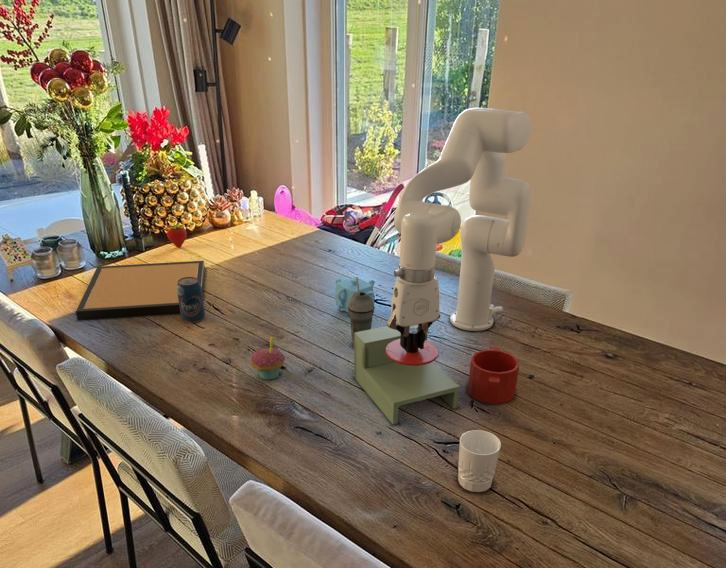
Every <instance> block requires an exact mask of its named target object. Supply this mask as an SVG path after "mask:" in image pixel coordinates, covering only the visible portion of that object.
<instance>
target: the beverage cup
mask: <svg viewBox="0 0 726 568" xmlns="http://www.w3.org/2000/svg"><path fill="white" fill-rule="evenodd" d="M355 277H356V282H357V290H358V293H356V294H354V295H353V296H352V297H351V298H350V300H349V304H348V312H349V313H348V312H347V313H348V315H349V322H350V324H349V325H350V333H351V342H352V347H353V348H354V333H355V332H360V331H365V330H370V329H372V323H373V316H374V312H375V301H374V302H373V299H372V298H371V297H370V295H368V294H367V293H364V292H360V291H359V283H358V278H359V277H358V276H355Z"/></svg>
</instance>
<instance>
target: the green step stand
mask: <svg viewBox="0 0 726 568" xmlns="http://www.w3.org/2000/svg"><path fill="white" fill-rule="evenodd" d="M410 328H418V324H417V325H412V326H410ZM400 336H401V333H400V332H399V331H398V330H395V329H392V328H389V327H388V326H387V325H386V326H380V327H375V328H371V329H370V330H365V331H360V332H355V333H354V347H353V348H354V349H353V350H354V358H353V359H354V364H353V365H354V373H353V374H354V375H353V376H354V377H353V378H354V379H355V380H356V382H357V383H358V384H359V386H360V387H362V389H363V390H364V392H365V393H366V394H367V395H368V396H369V398H371V400H372V401H373V402H374V404H376V406H377V408H378V409H380V411H381V413H383V414H384V416H385V417H386V418H387V420H388V421H389V422H390V423H391V424H392V425H396V424H398V423H399V422H398V419H399V407H400V406H405V405H408V404H412V403H417V402H420V401H423V400H428V399H431V398H435V397H440V398H441V399H442V400H443V401H444V402H446V403H447V405H449V407H451V409H453V410H455V409H457V408H458V405H459V393H460V385H459V384H457V383H456V382H455V380H454V379H452V378H451V377H450V376H449V375H448V374H447V373H446V372H445V371H444V370H443V369H441V367H439V366H438V365H437V364H436V363H435V361H433V362H431V363H429V364H425V365H420V366H409V365H403V364H399V363H396V362H394V361H392V360H391V359H389V358H388V357H387V355H386V347H387V345H388V344H389V343H391V342H392V341H395V340H398V339H400ZM425 340H426V341H428V332H427V333H425Z"/></svg>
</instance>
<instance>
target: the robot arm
mask: <svg viewBox="0 0 726 568" xmlns="http://www.w3.org/2000/svg"><path fill="white" fill-rule="evenodd" d="M531 133H532V120H531V117H530V115H529V114H528V113H527V112H525V111H518V110H508V109H497V108H486V107H470V108H466V109H464V110H463V111H462V112H461V113H459V114H458V116H456V119H455V120H454V123H453V124H452V127H451V129H450V131H449V134H448V136H447V139H446V140H445V143H444V146H443V148H442V150H441V152H440V155H439V158H438V159H437V160H436V161H435V162H433V163H431V164H429V165H428V166H426V167H424V168H423V169H422V170H421V171H419V172H418V173H416V174H415V175H414V176H413V177H412V178H411V179H410V180H409V181H408V182H407V184H406V185H405V187H404V189H403V191H402V193H401V195H400V197H399V199H398V202H397V205H396V208H395V212H394V214H393V225H394V228H395V230H396V231H397V232H398V233H399V234H400V244H399V245H400V246H399V248H400V249H399V264H398V268H397V269H395V270H394V271H393V275H394V277H396V279H395V282H394V287H393V291H392V297H391V307H390V316H389V318H388V320H387V322H386V326H388V327H389V328H392V329H395V330H398V331H399V332H400V333H401V336H400V345H401V347H402V348H403V349H404V350H405V351H406V352H409V351H410V343H411V337H410V335H409V329H410V326H412V325H417V324H418V328H416V329H418V330H419V331H420V332H419V348H420V349H423V348H424V343H425V333H427V334H428V332H429V328H430V327H431V326H432V325H433V323H435V322H436V321H438V320H439V319H440V318H441V313H440V287H439V286H440V285H439V279H438V276H436V275H435V271H436V270H435V269H436V255H437V245H441V244H444V243H447V242H449V241H451V240H453V239H454V237H455V236H457V234H458V233H459V232H460V233H459V234H460V236H459V237H460V248H461V253H460V254H461V256H460V259H461V260H460V270H459V281H458V290H457V291H458V292H457V300H456V301H457V302H456V311H454V312H453V313H451V315H450V319H449V320H450V323H451V324H452V325H453V326H454V327H456V328H458V329H460V330H464V331H469V332H482V331H486V330H489V329H491V328H492V326H493V325H494V318H493V316H495V314H496V315H497V314H501V313H503V312H504V308H503V306H501V305H500V306H495V305H494V304H491V301H492V294H493V286H494V276H495V269H496V267H495V262H494V259H493V257H492V255H497V256H503V257H509V258H514V257H517V256H519V255H520V254H521V253H522V251H523V250H524V247H525V243H526V237H527V230H528V223H529V215H530V209H531V202H532V190H531V186H530V184H529V183H528V182H527V181H526V180H523V179H521V178H515V177H507V176H505V175H506V174H505V170H506V162H507V156H506V154H512V153H516V152H519V151H521V150H522V149H523V148H525V147H526V146H527V143H528V142H529V140H530V137H531ZM469 181H470V182H469ZM468 182H469V197H468V200H469V202H468V203H469V207H470V208H471V209H472V210H473V211H475V212H479V213H484V214H491V215H495V216H489V215H483V214H477V215H476V214H475V215H474V214H473V215H470V216H467V217H466V218H465V219H464V220H463V221H462V218H461V214H460V212H459V211H458V209H456V208H455V207H453V206H449V205H445V204H438V203H433V202H426V201H423V200H424V199H425V198H426V197H428V196H430V195H431V194H434V193H437V192H441V191H444V190H449V189H451V188H456V187H458V186H461V185H464V184H467V183H468ZM496 216H502V217H503V216H504V217H506V218H499V217H496Z"/></svg>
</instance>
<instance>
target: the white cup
mask: <svg viewBox="0 0 726 568" xmlns="http://www.w3.org/2000/svg"><path fill="white" fill-rule="evenodd" d="M501 447H502V443H501V440H500V439H499V437H498V436H496V435H495V434H494V433H492V432H489V431H486V430H481V429H474V430H468V431H466V432H464V433H462V435H461V436H460V437H459V448H458V463H457V465H458V466H457V469H458V474H457V481H458V483H459V486H461V487H462V488H463V489H464V490H467V491H469V492H472V493H482V492H486V491H488V490H489V489H490V488H491V487H492V485H493V480H494V476H495V474H496V470H497V466H498V461H499V458H500V452H501Z"/></svg>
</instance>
